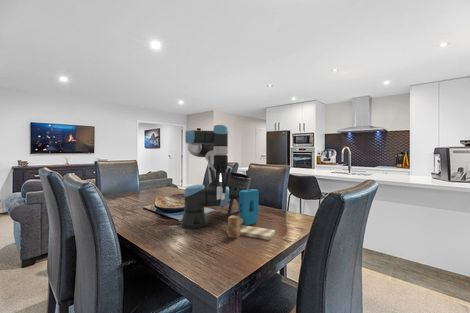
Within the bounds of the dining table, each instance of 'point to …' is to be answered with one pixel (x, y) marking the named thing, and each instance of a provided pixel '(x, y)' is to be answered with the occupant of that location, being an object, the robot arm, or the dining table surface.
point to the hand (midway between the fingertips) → (220, 199)
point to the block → (249, 206)
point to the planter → (237, 187)
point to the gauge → (234, 226)
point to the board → (256, 232)
